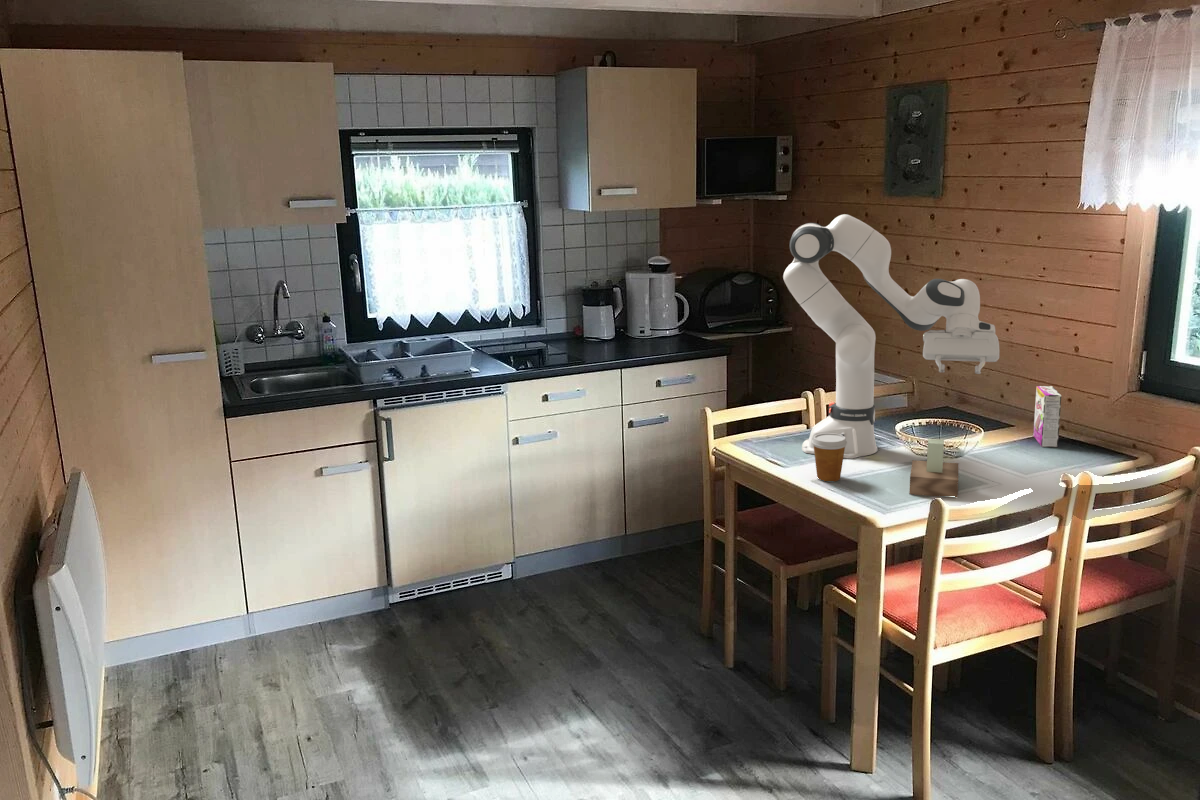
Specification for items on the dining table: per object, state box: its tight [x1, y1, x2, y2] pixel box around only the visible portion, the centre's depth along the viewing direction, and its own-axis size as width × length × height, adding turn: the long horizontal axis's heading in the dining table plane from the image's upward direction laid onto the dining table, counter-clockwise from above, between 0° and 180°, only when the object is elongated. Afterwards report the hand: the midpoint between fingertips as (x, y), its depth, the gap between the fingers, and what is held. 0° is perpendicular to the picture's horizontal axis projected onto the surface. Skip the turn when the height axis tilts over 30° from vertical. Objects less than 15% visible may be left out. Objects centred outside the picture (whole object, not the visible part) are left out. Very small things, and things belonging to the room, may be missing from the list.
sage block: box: [926, 438, 945, 473], centre depth 255 cm, size 4×4×8 cm
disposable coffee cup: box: [812, 433, 847, 482], centre depth 266 cm, size 10×10×12 cm
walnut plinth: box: [908, 459, 960, 497], centre depth 256 cm, size 12×14×5 cm
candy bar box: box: [1032, 385, 1062, 448], centre depth 289 cm, size 11×5×16 cm, turn 168°
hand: (959, 372), depth 264 cm, fingers open, 8 cm apart
